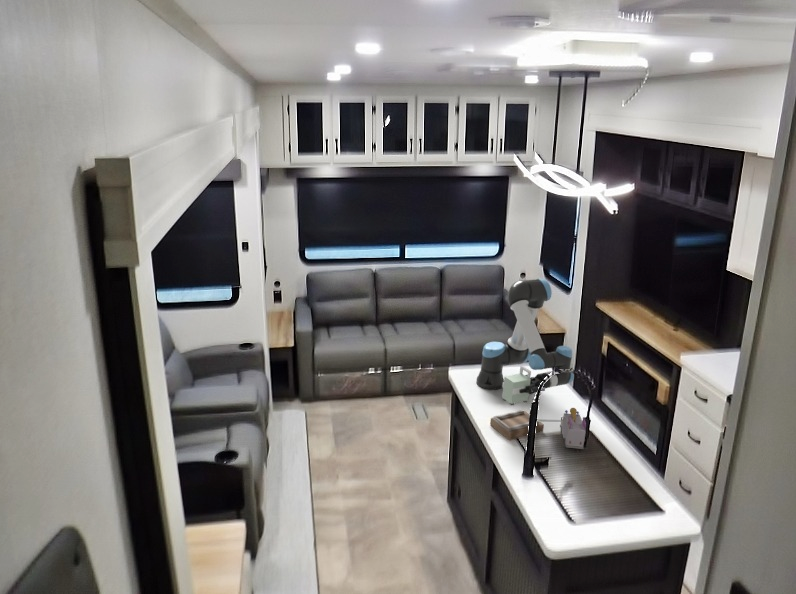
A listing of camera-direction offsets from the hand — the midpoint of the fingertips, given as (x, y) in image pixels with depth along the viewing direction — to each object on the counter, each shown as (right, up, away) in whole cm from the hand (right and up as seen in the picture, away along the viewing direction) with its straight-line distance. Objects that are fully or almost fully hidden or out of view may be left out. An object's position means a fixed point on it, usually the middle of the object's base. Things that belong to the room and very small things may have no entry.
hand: (508, 388), depth 292 cm
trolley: (+4, -7, +5) cm, 9 cm away
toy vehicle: (+29, -25, 0) cm, 39 cm away
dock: (+5, -21, +8) cm, 23 cm away
